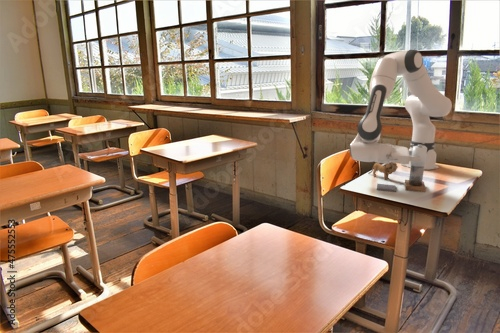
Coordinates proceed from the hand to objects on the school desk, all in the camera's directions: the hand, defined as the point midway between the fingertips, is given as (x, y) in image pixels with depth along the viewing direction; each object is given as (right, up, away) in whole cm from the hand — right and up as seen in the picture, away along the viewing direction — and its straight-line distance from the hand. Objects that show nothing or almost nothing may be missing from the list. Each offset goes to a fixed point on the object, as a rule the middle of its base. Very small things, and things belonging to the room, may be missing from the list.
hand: (419, 156), depth 167 cm
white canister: (0, -4, +1) cm, 4 cm away
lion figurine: (-9, -10, +21) cm, 25 cm away
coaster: (-13, -14, +4) cm, 20 cm away
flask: (-1, -12, +3) cm, 13 cm away
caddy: (0, -14, +5) cm, 15 cm away
